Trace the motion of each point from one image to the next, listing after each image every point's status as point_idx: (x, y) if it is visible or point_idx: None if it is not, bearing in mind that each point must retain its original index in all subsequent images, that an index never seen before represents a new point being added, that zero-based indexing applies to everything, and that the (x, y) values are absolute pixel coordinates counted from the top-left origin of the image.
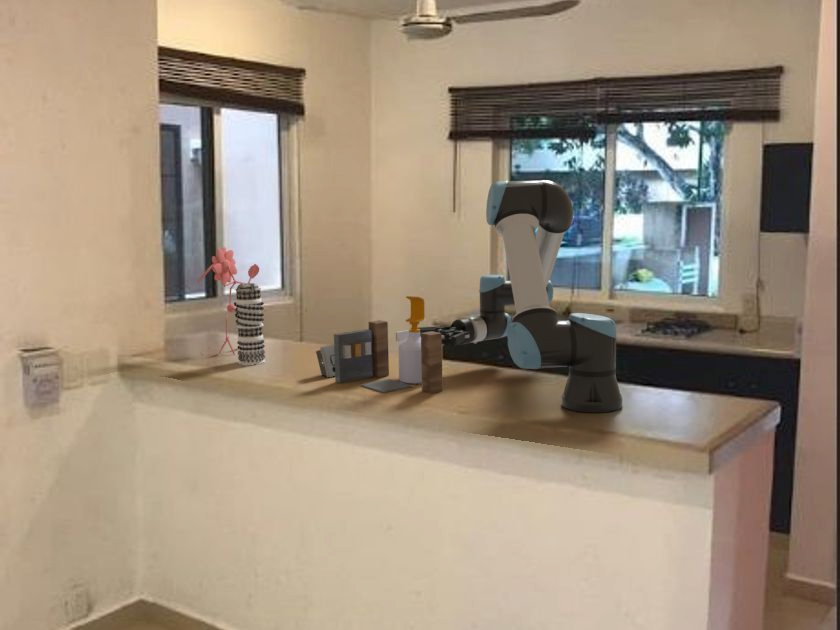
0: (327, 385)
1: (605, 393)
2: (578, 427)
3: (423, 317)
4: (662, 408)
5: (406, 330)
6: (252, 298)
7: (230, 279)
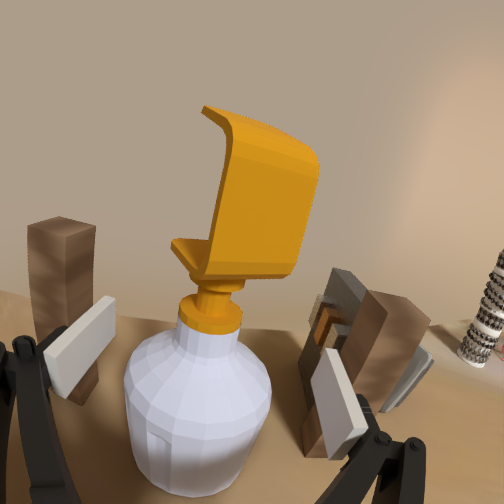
0: (297, 347)
1: None
2: None
3: (202, 265)
4: None
5: (349, 388)
6: (500, 266)
7: None
